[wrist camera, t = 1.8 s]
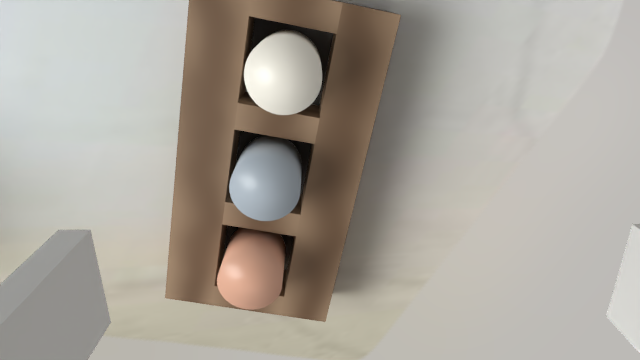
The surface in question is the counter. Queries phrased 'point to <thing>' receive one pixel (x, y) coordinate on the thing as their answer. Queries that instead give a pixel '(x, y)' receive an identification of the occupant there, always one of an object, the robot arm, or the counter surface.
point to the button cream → (284, 72)
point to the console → (306, 126)
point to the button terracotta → (252, 269)
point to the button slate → (267, 178)
